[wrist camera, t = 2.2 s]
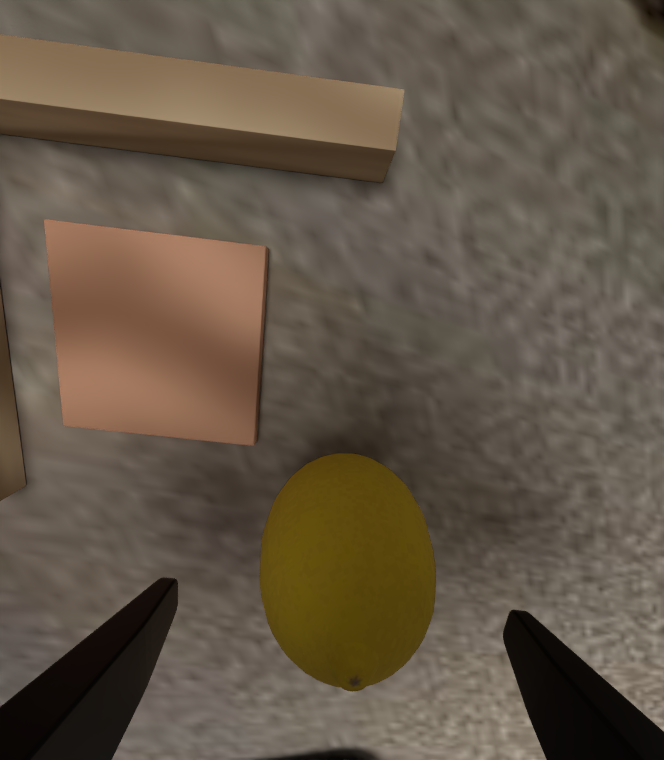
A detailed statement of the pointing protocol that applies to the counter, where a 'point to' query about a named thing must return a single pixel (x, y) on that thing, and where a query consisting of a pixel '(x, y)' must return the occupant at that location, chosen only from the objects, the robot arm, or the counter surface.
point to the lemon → (347, 571)
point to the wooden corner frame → (170, 252)
